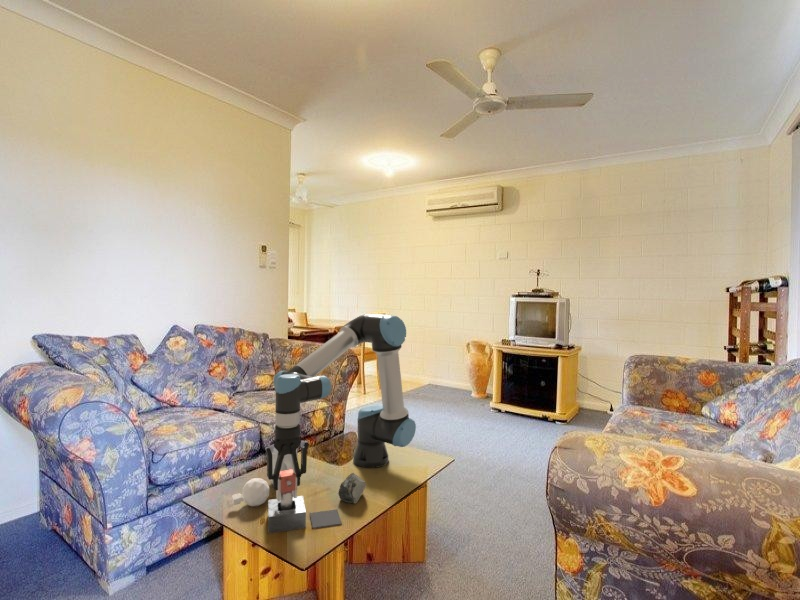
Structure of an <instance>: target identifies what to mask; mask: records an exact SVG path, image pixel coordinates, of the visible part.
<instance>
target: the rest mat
mask: <svg viewBox="0 0 800 600" xmlns="http://www.w3.org/2000/svg"><path fill="white" fill-rule="evenodd" d="M309 517H310V521H311V526H312V527H311V528H312V529H313V530H314V529H322V528H326V527H327V528H329V527H335V526H342V519H341V517H340V513H339V511H338V509H330V510H329V509H327V510H322V511H315V512H309Z"/></svg>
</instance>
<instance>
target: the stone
mask: <svg viewBox="0 0 800 600" xmlns="http://www.w3.org/2000/svg"><path fill="white" fill-rule="evenodd" d="M366 488H367V483H366V481H365V480H364V479H362V478H361V477H360V476H359V475H357V474H356V473H355V472H352V473H350V474H349V475H348V476H347V477H346V478H345V479H344V480H343V482H341V483H340V486H339V490H338V493H337V494H338V496H339V499H340V500H341V501H343V502H345V503H349V504H350V503H352V504H354V503H355V504H357V503H358V502H359V500H360V498H361V496H362V495H363V492H364V491H365V489H366Z"/></svg>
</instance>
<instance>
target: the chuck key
mask: <svg viewBox="0 0 800 600" xmlns="http://www.w3.org/2000/svg"><path fill="white" fill-rule="evenodd" d="M279 478H280V480H281V511H283V510H291V509H292V497H293V491H294V490H295V480H296V474H295V473H294V471H293V470H292V469H290V470H285V471H280V474H279Z"/></svg>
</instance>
